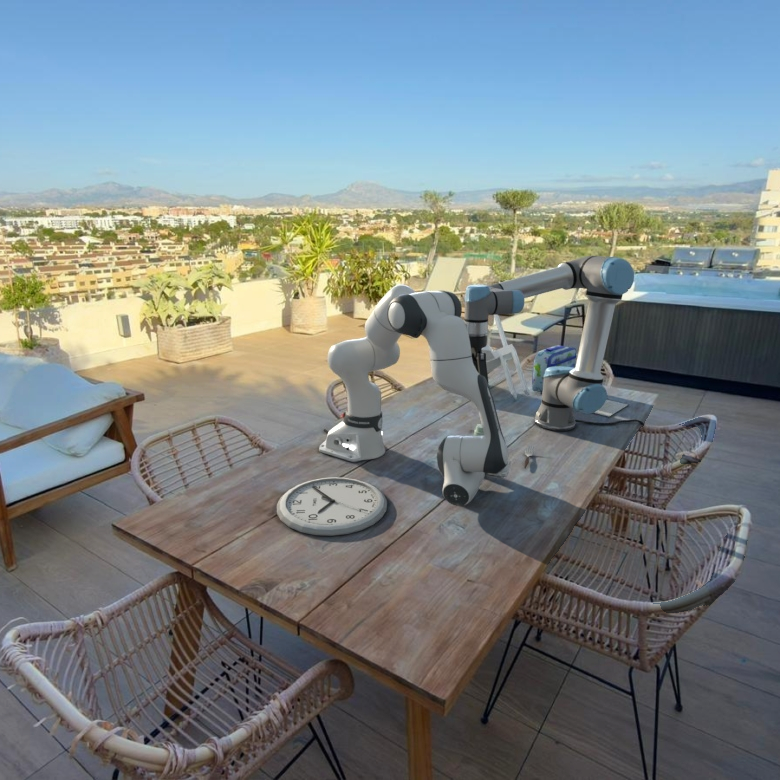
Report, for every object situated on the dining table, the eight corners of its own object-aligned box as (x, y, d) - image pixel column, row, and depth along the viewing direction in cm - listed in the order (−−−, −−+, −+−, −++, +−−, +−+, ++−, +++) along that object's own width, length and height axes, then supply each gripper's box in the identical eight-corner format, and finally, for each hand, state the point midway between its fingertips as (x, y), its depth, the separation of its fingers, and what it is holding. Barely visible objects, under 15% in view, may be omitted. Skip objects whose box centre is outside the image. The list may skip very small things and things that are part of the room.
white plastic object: (461, 429, 252) (437, 405, 227) (444, 352, 274) (420, 323, 250) (535, 404, 240) (518, 377, 215) (510, 326, 262) (492, 293, 237)
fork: (520, 469, 166) (521, 463, 165) (526, 450, 180) (526, 444, 180) (528, 470, 165) (529, 464, 164) (533, 451, 179) (534, 445, 179)
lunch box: (548, 398, 236) (553, 353, 229) (527, 393, 243) (531, 349, 237) (575, 387, 253) (581, 344, 247) (555, 382, 260) (560, 341, 254)
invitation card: (608, 416, 214) (573, 407, 224) (608, 416, 214) (573, 408, 224) (628, 404, 229) (594, 396, 238) (628, 405, 229) (594, 397, 238)
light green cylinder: (472, 475, 161) (476, 428, 157) (470, 469, 166) (473, 423, 161) (487, 475, 161) (491, 428, 157) (484, 469, 166) (488, 423, 161)
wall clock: (392, 527, 129) (268, 531, 127) (391, 533, 130) (269, 537, 127) (383, 473, 158) (282, 475, 155) (383, 478, 158) (282, 480, 156)
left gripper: (507, 467, 146) (515, 449, 158) (437, 455, 153) (449, 438, 165) (505, 487, 147) (513, 468, 160) (436, 474, 155) (448, 456, 167)
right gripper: (452, 327, 179) (450, 386, 185) (478, 342, 156) (474, 409, 162) (473, 326, 180) (470, 385, 187) (501, 341, 157) (497, 408, 164)
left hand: (480, 452), depth 162 cm, fingers open, 8 cm apart
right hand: (472, 396), depth 174 cm, fingers open, 13 cm apart
